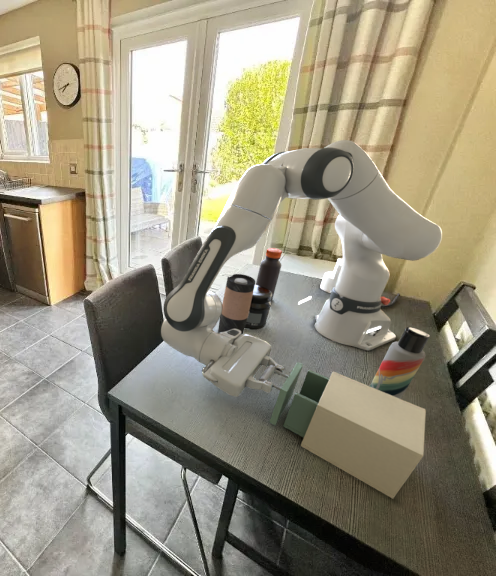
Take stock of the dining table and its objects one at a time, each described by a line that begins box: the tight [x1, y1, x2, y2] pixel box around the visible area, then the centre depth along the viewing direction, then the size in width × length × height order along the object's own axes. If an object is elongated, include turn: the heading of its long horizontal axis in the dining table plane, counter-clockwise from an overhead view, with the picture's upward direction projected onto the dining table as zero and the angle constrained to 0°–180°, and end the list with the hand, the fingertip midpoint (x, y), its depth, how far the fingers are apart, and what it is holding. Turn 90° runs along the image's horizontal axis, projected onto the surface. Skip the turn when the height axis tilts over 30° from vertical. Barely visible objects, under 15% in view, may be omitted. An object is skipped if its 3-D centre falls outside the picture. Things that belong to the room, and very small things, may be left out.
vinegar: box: [255, 247, 283, 303], centre depth 113 cm, size 7×7×20 cm
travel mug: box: [217, 273, 256, 334], centre depth 91 cm, size 8×8×20 cm
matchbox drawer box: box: [300, 371, 427, 500], centre depth 59 cm, size 15×13×12 cm
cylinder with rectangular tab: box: [319, 257, 343, 294], centre depth 122 cm, size 9×9×12 cm
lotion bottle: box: [369, 326, 430, 400], centre depth 68 cm, size 6×6×20 cm
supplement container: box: [245, 284, 272, 331], centre depth 100 cm, size 10×10×12 cm
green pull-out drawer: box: [258, 361, 330, 439], centre depth 65 cm, size 18×11×10 cm, turn 46°
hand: (277, 379), depth 68 cm, fingers closed on green pull-out drawer, 6 cm apart
